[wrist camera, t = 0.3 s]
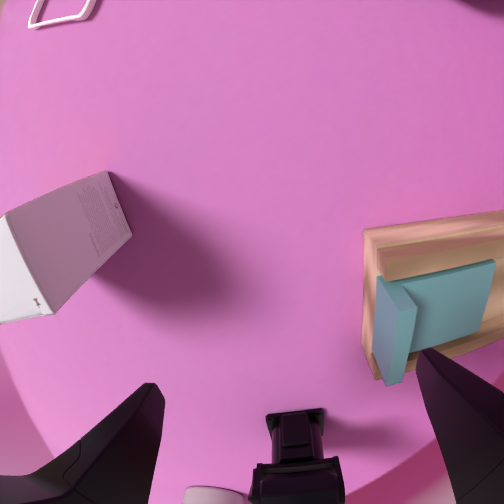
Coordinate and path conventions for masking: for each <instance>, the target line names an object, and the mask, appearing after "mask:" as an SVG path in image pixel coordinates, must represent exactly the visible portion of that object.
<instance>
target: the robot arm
mask: <svg viewBox="0 0 504 504" xmlns="http://www.w3.org/2000/svg"><path fill="white" fill-rule="evenodd" d="M416 375H417V378H418V382H419V385H420V389H421V392H422V396H423V400H424V404H425V407H426V410H427V413H428V416H429V419H430V421H431V424H432V427H433V429H434V432H435V435H436V438H437V441H438V443H439V446H440V449H441V452H442V455H443V458H444V462H445V465H446V468H447V471H448V475H449V478H450V481H451V485H452V489H453V492H454V496H455V500H456V504H504V393H503V392H502V391H500V390H499V389H497V388H496V387H494V386H493V385H491V384H490V383H488V382H486V381H485V380H483V379H482V378H480V377H478V376H477V375H475V374H474V373H472V372H470V371H469V370H467V369H466V368H464V367H462V366H461V365H459V364H458V363H456V362H454V361H453V360H451V359H450V358H448V357H446V356H445V355H443V354H442V353H440V352H438V351H437V350H435V349H434V348H431V347H429V348H425V349H422V350H420V352H419V355H418V359H417V363H416ZM164 409H165V398H164V396H163V394H162V393H161V391H160V389H159V388H158V386H157V385H156V384H155V383H144V384H143V385H142V386H140V387H139V388H138V389H137V390H136V391H135V392H134V393H133V394H131V395H130V396H129V397H128V398H127V399H126V400H125V401H123V402H122V403H121V404H120V405H119V406H118V407H117V408H116V409H114V410H113V411H112V412H111V413H110V414H109V415H107V416H106V417H105V418H104V419H103V420H102V421H101V422H99V423H98V424H97V425H96V426H95V427H94V428H92V429H91V430H90V431H89V432H88V433H87V434H85V435H84V436H83V437H82V438H81V440H78V441H77V442H76V443H75V444H74V445H72V446H71V447H70V448H69V449H67V450H66V451H65V452H63V453H62V454H61V455H59V456H58V457H56V458H55V459H54V460H52V461H51V462H49V463H48V464H46V465H45V466H43V467H42V468H40V469H38V470H37V471H35V472H33V473H31V474H28V475H23V476H3V475H0V504H148V500H149V495H150V490H151V485H152V480H153V475H154V470H155V465H156V461H157V456H158V451H159V447H160V442H161V436H162V428H163V418H164ZM266 423H267V426H268V430H269V433H270V436H271V440H272V464H262V463H257V468H255V469H253V480H252V485H251V489H250V493H249V496H248V501H249V502H250V503H251V504H345V488H344V481H343V476H342V472H341V467H340V462H339V458H338V456H334V457H332V458H326V459H324V455H323V446H322V438H321V437H322V436H323V410H322V409H314V410H307V411H299V412H290V413H280V414H269V415H266Z"/></svg>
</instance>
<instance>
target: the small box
mask: <svg viewBox="0 0 504 504" xmlns="http://www.w3.org/2000/svg"><path fill="white" fill-rule="evenodd" d="M131 237H132V233H131V230H130V228H129V226H128V223H127V221H126V219H125V216H124V214H123V211H122V209H121V206H120V204H119V201H118V199H117V196H116V194H115V191H114V188H113V186H112V183H111V180H110V178H109V175H108V172H107V171H106V170H105V171H102V172H99V173H97V174H94V175H91V176H88V177H86V178H83V179H81V180H78V181H75V182H73V183H70V184H68V185H66V186H63V187H61V188H58V189H56V190H54V191H51V192H49V193H47V194H45V195H42V196H40V197H38V198H36V199H34V200H32V201H29V202H27V203H25V204H23V205H21V206H19V207H17V208H15V209H13V210H11V211H8V212H6V213H5V214H4V215H2V216H1V217H0V325H1V324H4V323H8V322H13V321H17V320H22V319H27V318H32V317H38V316H47V315H55V314H56V313H57V311H58V310H59V309H60V308H61V307H62V306H63V305H64V304H65V303H66V301H67V300H68V299H69V298H70V297H71V296H72V295H73V294H74V293H75V292H76V291H77V290H78V289H79V288H80V287H81V286H82V285H83V284H84V283H85V282H86V281H87V280H88V279H89V278H90V277H91V276H92V275H93V274H94V273H95V272H96V271H97V270H98V269H99V268H100V267H101V266H102V265H103V264H104V263H105V262H106V261H107V260H108V259H109V258H110V257H111V256H112V255H113V254H114V253H115V252H116V251H117V250H118V249H120V248H121V247H122V245H124V244H125V243H126V242H127V241H128V240H129V239H130V238H131Z"/></svg>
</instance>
